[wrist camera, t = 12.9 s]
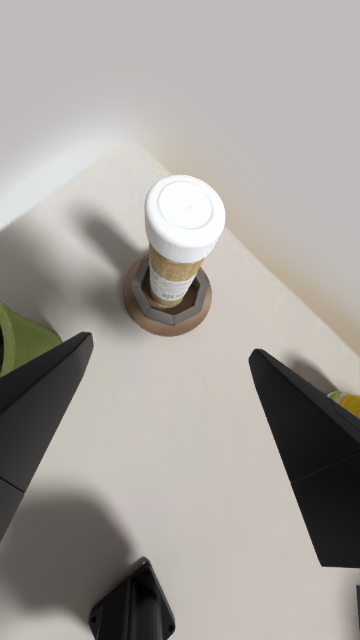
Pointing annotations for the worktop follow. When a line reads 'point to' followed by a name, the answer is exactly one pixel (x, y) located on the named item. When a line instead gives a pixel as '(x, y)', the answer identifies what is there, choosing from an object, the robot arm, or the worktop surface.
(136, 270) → the brown grey round base
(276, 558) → the worktop surface
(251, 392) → the worktop surface
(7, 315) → the plant pot
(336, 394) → the supplement bottle
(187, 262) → the sprinkles bottle
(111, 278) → the worktop surface
